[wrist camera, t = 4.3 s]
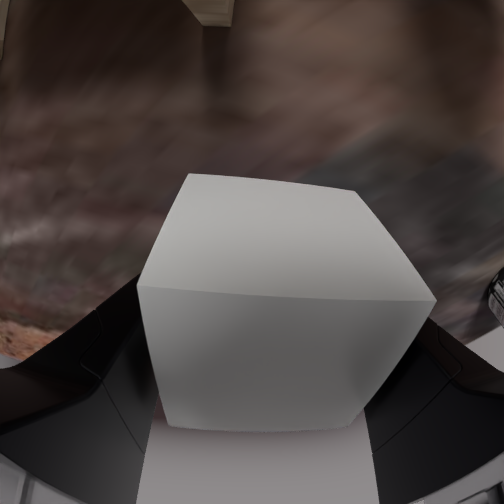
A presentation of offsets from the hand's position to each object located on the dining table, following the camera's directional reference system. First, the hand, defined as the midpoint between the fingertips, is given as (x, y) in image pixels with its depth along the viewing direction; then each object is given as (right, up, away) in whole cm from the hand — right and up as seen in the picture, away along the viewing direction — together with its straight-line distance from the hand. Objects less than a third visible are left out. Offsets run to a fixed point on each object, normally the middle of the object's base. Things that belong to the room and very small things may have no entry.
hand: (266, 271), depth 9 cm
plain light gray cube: (0, +1, +1) cm, 1 cm away
